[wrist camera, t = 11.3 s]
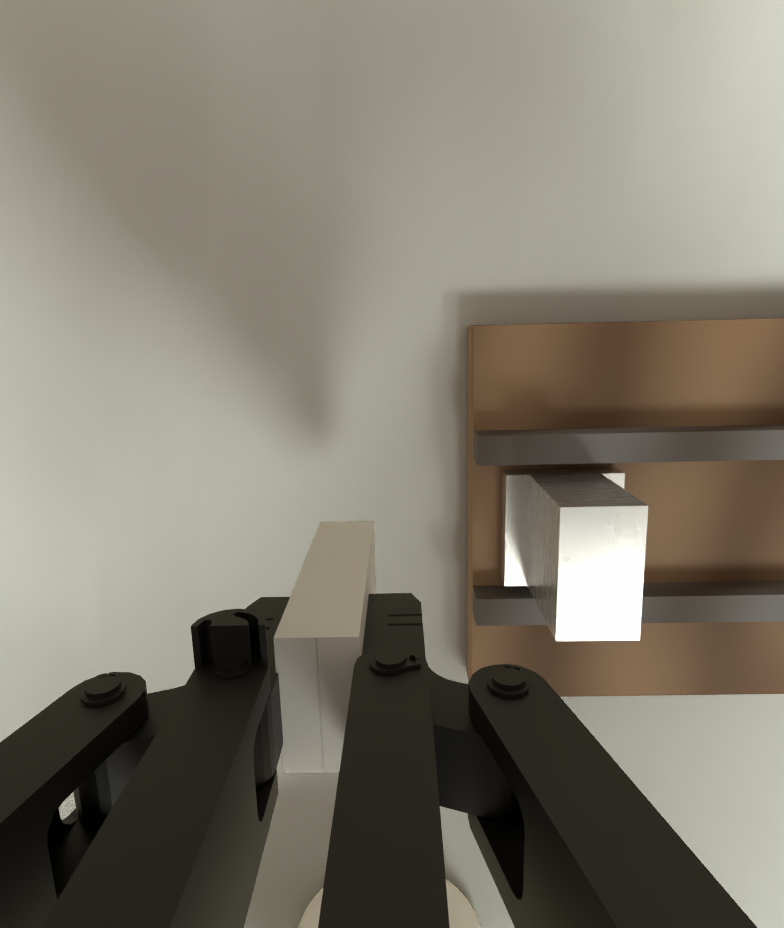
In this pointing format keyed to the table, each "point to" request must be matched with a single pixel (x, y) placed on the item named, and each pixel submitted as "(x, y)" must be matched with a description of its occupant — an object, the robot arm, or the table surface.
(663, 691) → the control board
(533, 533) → the slide knob
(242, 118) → the table surface
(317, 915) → the mug
